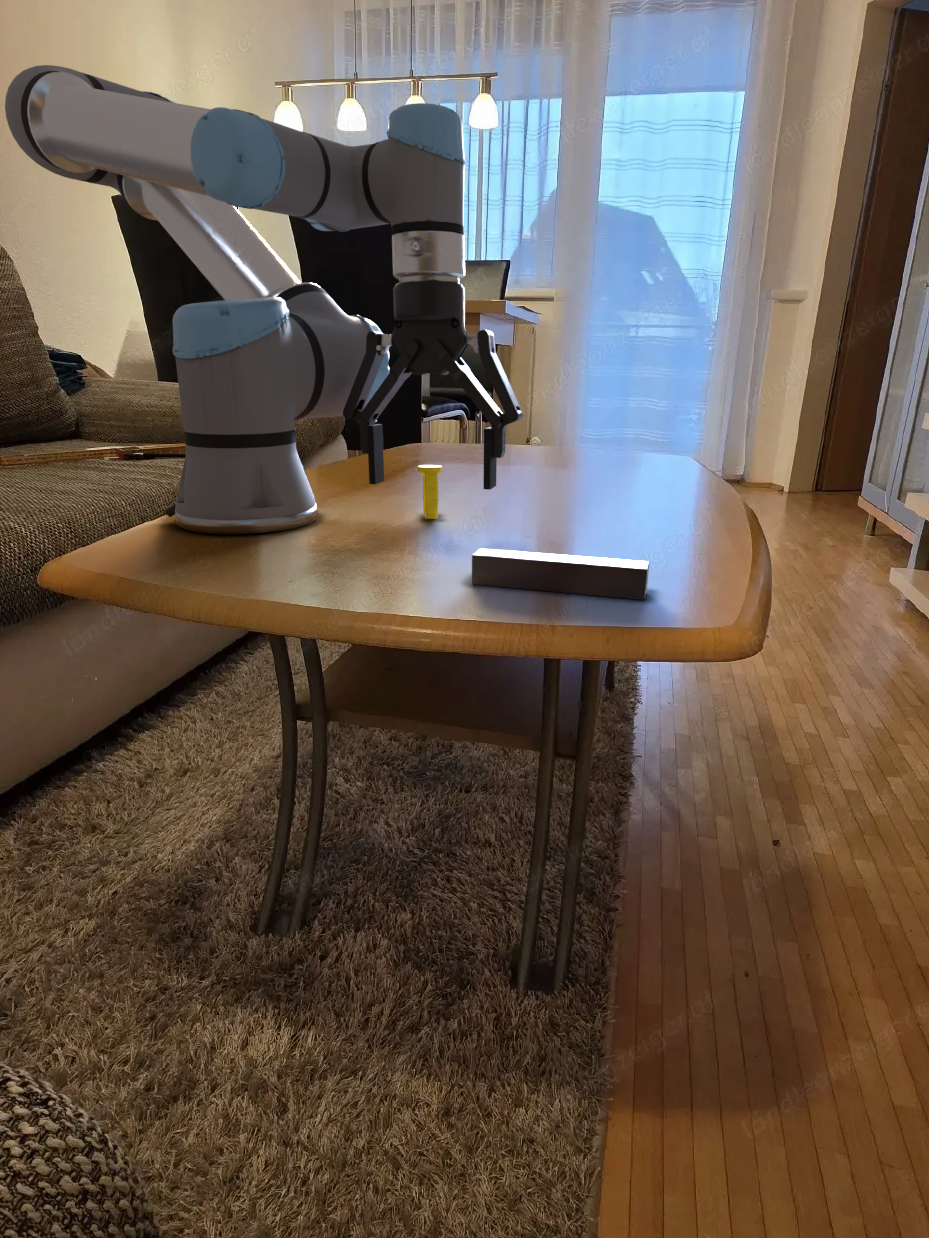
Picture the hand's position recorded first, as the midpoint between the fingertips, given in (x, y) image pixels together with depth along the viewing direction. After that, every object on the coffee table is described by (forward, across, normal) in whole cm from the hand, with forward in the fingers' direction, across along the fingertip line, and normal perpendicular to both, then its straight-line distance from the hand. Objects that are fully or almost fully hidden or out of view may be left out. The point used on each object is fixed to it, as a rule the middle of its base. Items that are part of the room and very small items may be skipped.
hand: (432, 485), depth 86 cm
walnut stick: (+4, +19, -23) cm, 30 cm away
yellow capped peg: (+4, 0, 0) cm, 4 cm away
